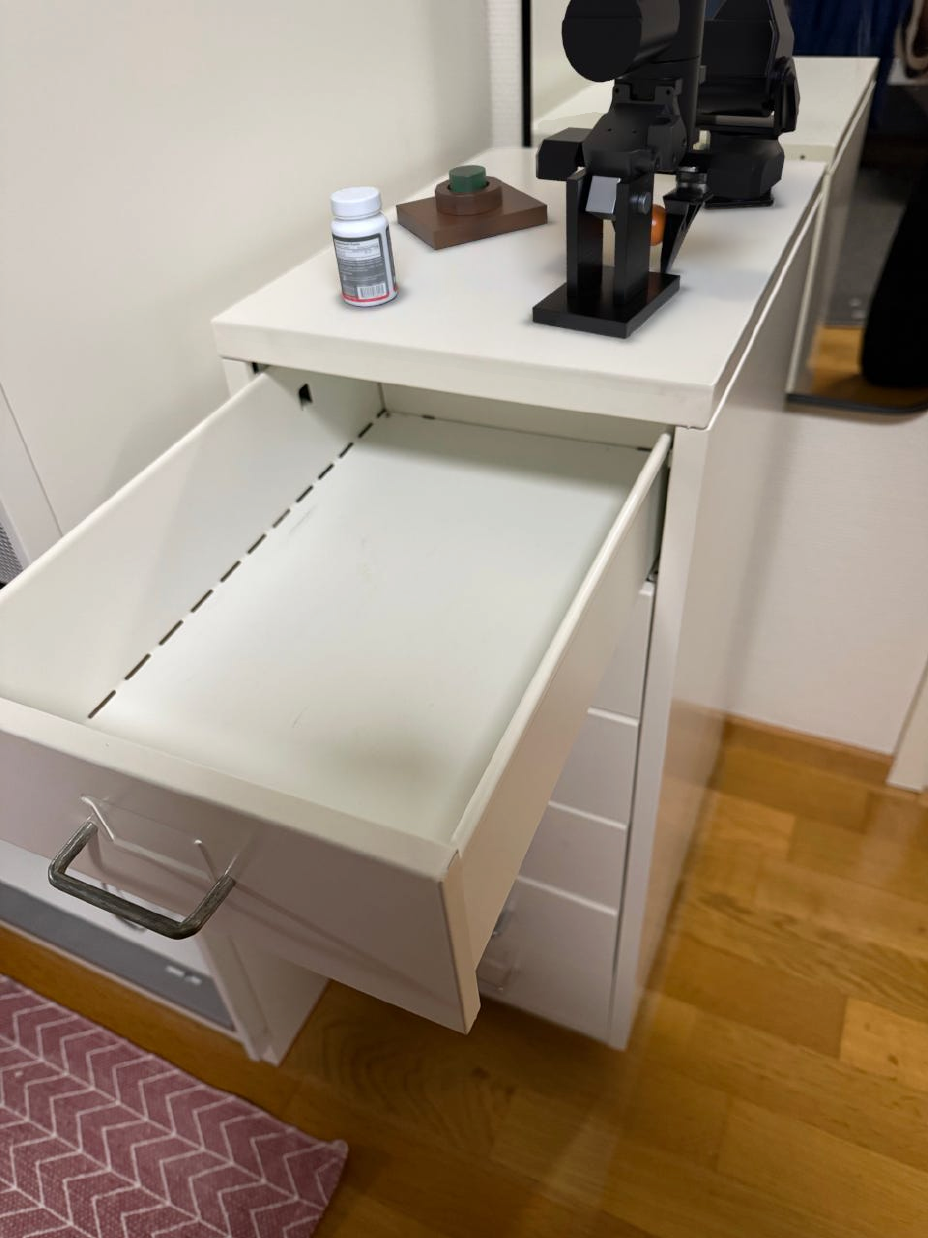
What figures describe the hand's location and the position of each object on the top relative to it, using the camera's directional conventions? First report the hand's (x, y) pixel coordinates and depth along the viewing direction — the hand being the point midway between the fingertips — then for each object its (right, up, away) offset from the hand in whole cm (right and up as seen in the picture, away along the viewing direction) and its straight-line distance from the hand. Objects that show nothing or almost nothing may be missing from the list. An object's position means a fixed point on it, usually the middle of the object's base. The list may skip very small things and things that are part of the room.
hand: (647, 271), depth 74 cm
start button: (-15, +13, +11) cm, 23 cm away
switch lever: (-3, +1, -6) cm, 6 cm away
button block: (-15, +10, +13) cm, 22 cm away
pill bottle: (-24, -2, +1) cm, 24 cm away
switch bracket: (-4, -4, -5) cm, 8 cm away
